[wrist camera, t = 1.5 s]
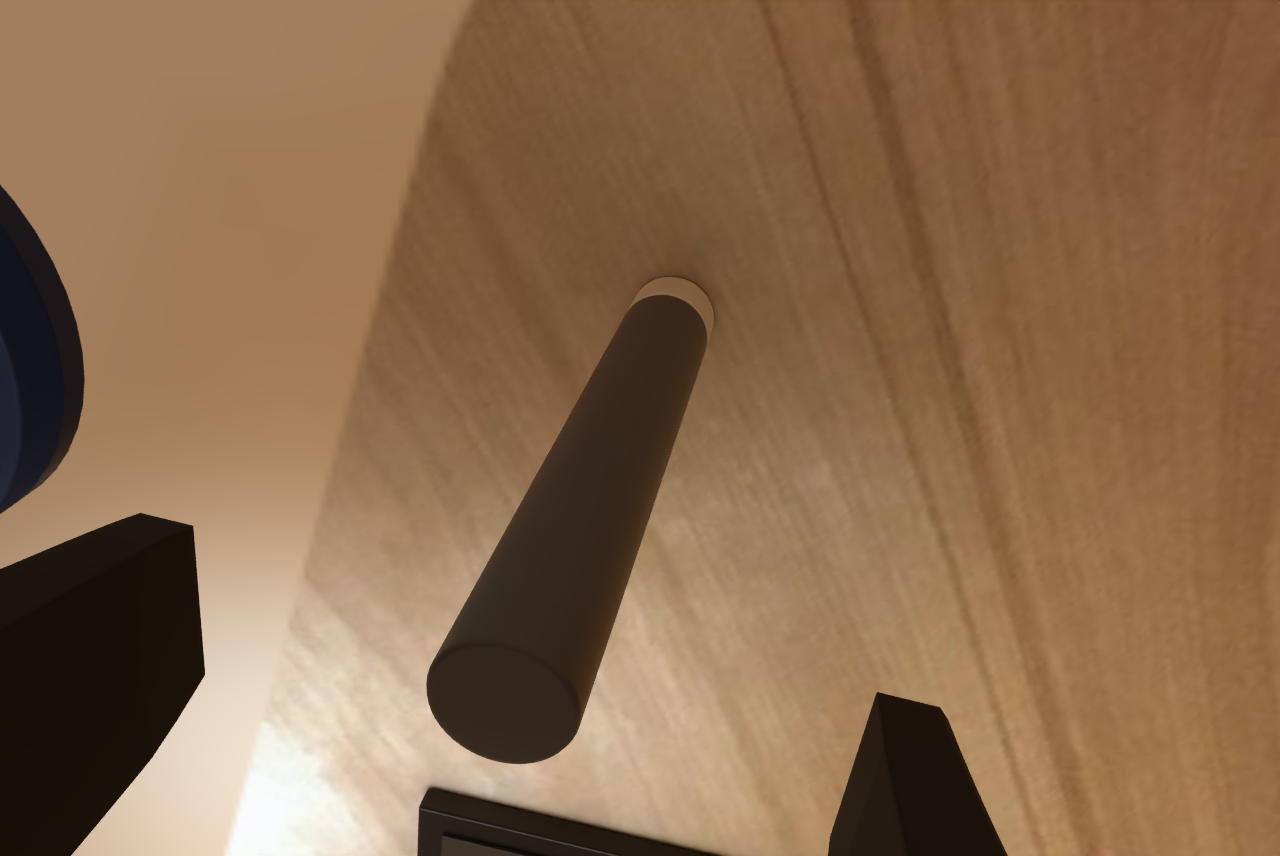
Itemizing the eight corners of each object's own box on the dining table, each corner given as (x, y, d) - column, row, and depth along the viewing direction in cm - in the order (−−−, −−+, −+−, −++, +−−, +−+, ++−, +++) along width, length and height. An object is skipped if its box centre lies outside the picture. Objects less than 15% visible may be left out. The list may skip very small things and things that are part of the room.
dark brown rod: (627, 346, 20) (421, 746, 11) (637, 268, 20) (425, 625, 10) (707, 361, 20) (572, 782, 11) (720, 283, 20) (587, 660, 10)
